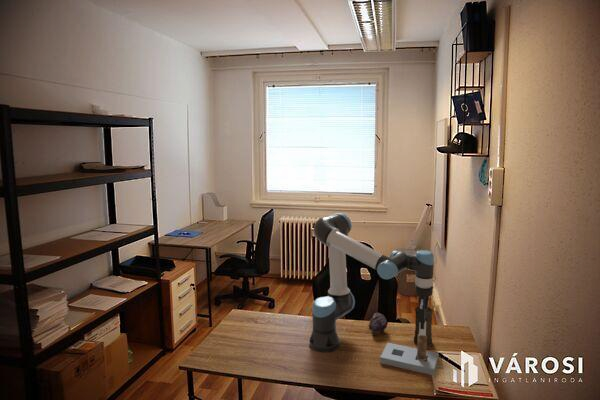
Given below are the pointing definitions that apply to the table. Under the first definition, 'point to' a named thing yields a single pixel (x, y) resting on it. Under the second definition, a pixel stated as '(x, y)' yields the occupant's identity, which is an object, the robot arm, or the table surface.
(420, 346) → the walnut peg
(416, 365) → the board
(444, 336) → the table surface
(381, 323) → the rock
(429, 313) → the container
